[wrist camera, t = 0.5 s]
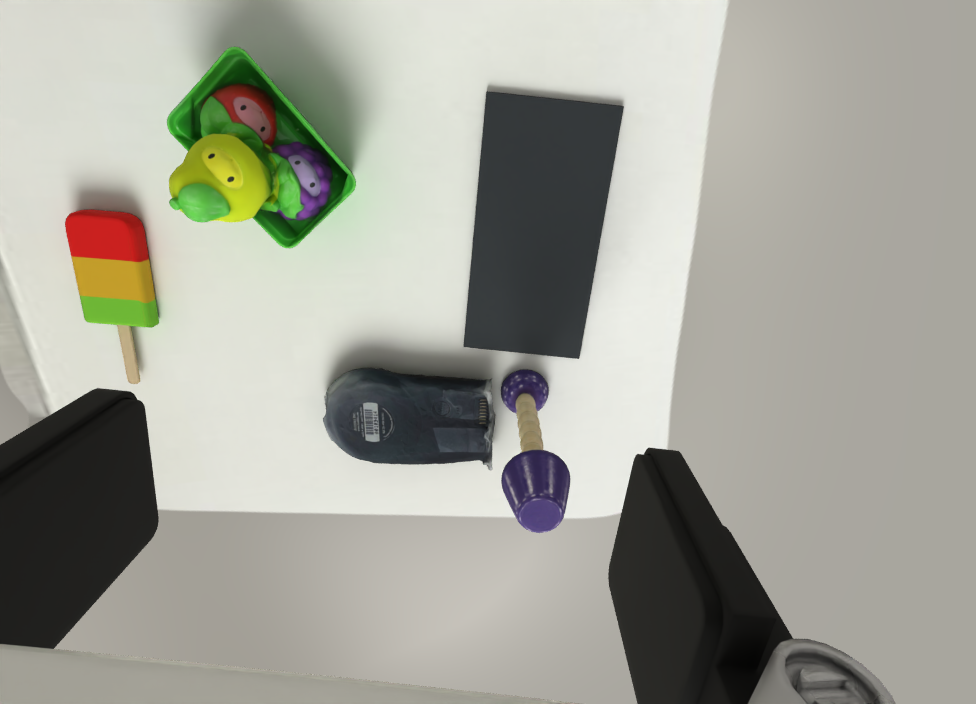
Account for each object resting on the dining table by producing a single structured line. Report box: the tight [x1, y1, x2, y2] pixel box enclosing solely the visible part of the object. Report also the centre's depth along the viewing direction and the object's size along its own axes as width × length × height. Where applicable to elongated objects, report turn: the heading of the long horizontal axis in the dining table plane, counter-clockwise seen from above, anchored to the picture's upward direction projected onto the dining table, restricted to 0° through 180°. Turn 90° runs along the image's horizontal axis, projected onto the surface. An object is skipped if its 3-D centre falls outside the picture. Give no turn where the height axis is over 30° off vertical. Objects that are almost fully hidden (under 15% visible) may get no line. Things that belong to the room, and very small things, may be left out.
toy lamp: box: [501, 370, 570, 533], centre depth 42 cm, size 5×5×17 cm
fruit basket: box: [167, 47, 356, 248], centre depth 37 cm, size 11×9×11 cm
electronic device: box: [323, 368, 495, 470], centre depth 49 cm, size 9×6×15 cm
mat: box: [464, 91, 624, 359], centre depth 44 cm, size 20×10×1 cm, turn 174°
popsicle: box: [65, 210, 159, 384], centre depth 46 cm, size 6×15×2 cm, turn 176°
